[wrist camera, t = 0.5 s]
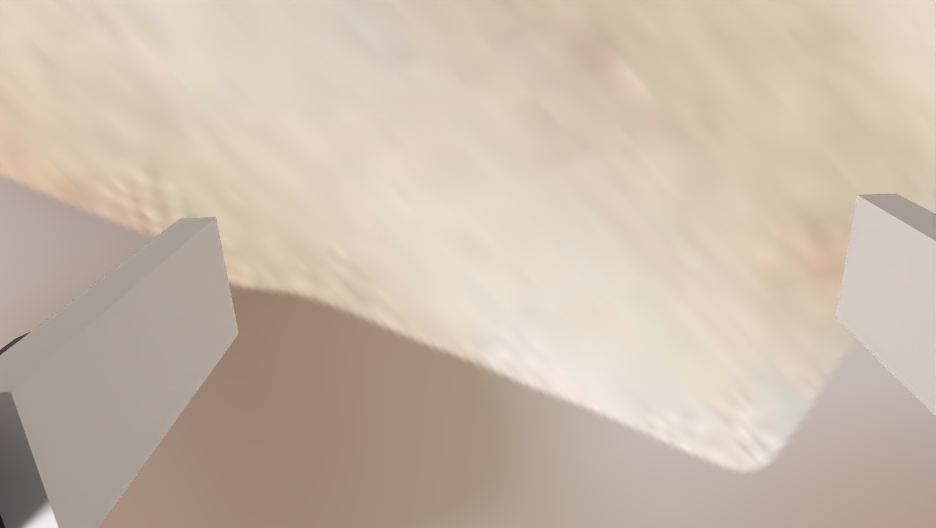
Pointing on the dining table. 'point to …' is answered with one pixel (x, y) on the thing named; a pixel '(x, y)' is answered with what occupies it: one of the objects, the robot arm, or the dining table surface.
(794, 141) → the dining table surface
